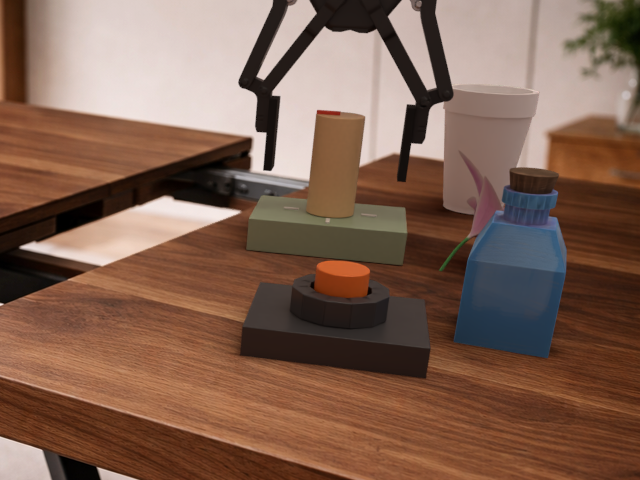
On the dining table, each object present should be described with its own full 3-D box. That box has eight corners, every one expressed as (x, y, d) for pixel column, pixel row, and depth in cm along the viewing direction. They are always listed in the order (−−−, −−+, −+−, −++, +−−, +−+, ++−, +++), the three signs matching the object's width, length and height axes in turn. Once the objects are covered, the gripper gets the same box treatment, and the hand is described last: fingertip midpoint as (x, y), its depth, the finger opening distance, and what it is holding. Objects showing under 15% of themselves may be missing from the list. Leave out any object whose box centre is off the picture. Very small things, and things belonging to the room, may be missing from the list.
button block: (420, 327, 70) (428, 275, 69) (425, 380, 61) (435, 321, 60) (257, 309, 73) (262, 258, 71) (239, 357, 64) (244, 300, 62)
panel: (400, 237, 94) (405, 205, 93) (402, 265, 85) (407, 231, 84) (259, 224, 97) (261, 193, 96) (246, 250, 88) (248, 216, 87)
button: (367, 287, 67) (370, 263, 66) (366, 303, 63) (370, 278, 63) (315, 281, 68) (318, 257, 67) (312, 297, 64) (314, 272, 64)
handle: (354, 209, 91) (366, 110, 88) (352, 219, 87) (365, 116, 84) (307, 205, 92) (318, 107, 89) (304, 215, 88) (314, 113, 85)
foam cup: (530, 220, 102) (553, 96, 97) (443, 217, 102) (463, 93, 97) (498, 199, 111) (519, 85, 106) (419, 197, 111) (436, 82, 106)
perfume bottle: (453, 343, 67) (482, 174, 63) (462, 316, 73) (489, 159, 68) (547, 359, 65) (584, 186, 61) (549, 331, 70) (583, 169, 66)
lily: (519, 316, 76) (592, 212, 74) (391, 239, 79) (458, 138, 77) (510, 315, 88) (573, 225, 86) (398, 248, 91) (457, 160, 89)
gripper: (216, -90, 79) (200, 170, 87) (517, -83, 74) (471, 193, 82) (230, -85, 86) (213, 156, 94) (506, -78, 81) (464, 176, 89)
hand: (333, 173), depth 88 cm, fingers open, 11 cm apart
